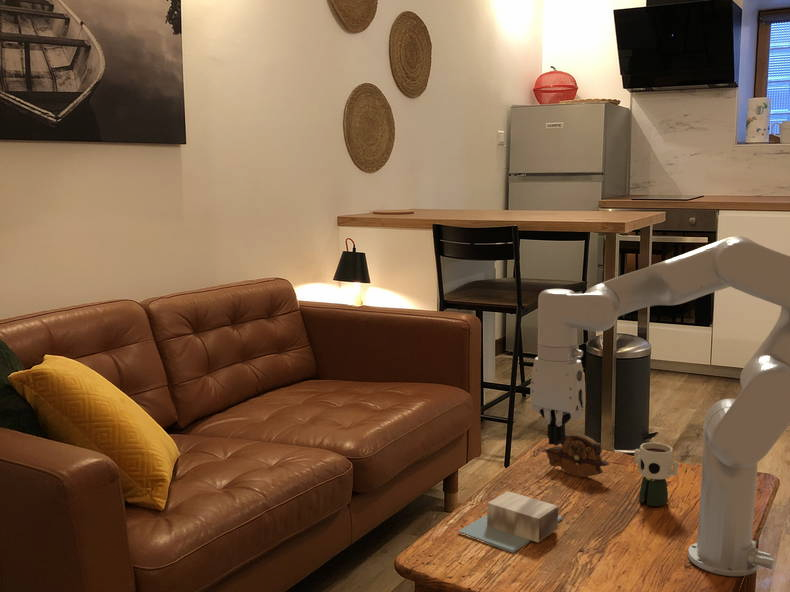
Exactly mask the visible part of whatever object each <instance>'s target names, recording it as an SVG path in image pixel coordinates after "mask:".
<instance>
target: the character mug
mask: <svg viewBox="0 0 790 592" xmlns="http://www.w3.org/2000/svg"><path fill="white" fill-rule="evenodd" d="M673 456H674V449H673V447H672V446H670V445H668V444H665V443H661V442H644V443H642V444H640V446H639V449H638V448H637V449H636V448H635V450H634V456H633V458H634V462H635V464H637V469H638V472H639V473H640V475H641V476H642V479H641V484H640V488H639V494H638V501H639V502H641V503H642V504H644V503H645V501H646V505H648V506H652V507H661V506H662V507H663V506H664V505H666V504H667V503H668V502H669V492H668V483H667V480H666V479H669V478H670V477H672V476H674V477H677V474H678V473H679V472H678V470H679V469H678V468H679V463H678V462H677V461H675V460H674V459H673Z"/></svg>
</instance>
